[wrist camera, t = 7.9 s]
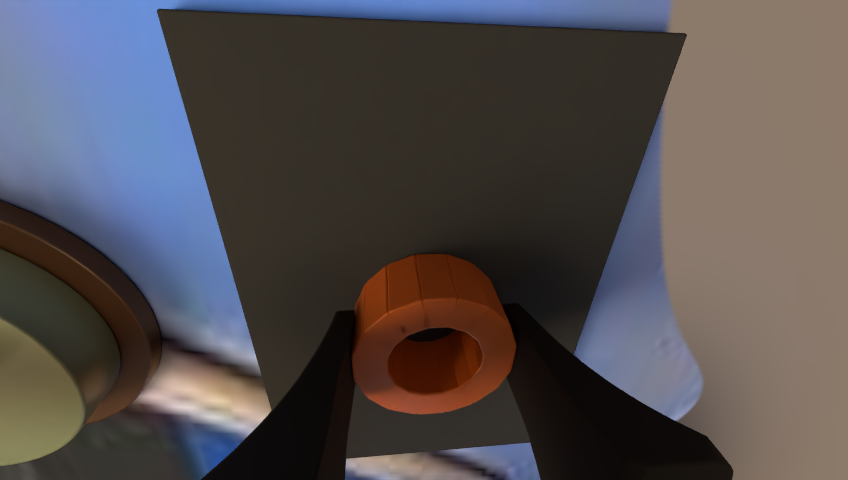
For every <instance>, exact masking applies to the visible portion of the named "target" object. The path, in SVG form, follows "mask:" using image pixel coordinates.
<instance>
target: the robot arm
mask: <svg viewBox="0 0 848 480" xmlns="http://www.w3.org/2000/svg"><path fill="white" fill-rule="evenodd" d="M503 310H504V312H505V314H506V316H507V319H508V321H509V323H510V325H511V328H512V331H513V334H514V337H515V340H516V343H517V350H516V354H515V358H514V362H513V366H512V368H511V372H510V373H509V374H508V375H507V377H506V378H507V381H508V383H509V386H510V388H511V391H512V393H513V396H514V398H515V401H516V403H517V406H518V408H519V411H520V413H521V416H522V418H523V421H524V424H525V427H526V430H527V432H528V436H529V439H530V443H531V446H532V450H533V453H534V457H535V460H536V464H537V468H538V471H539V475H540V479H541V480H732V477H733V469H732V467H731V465H730V464H729V463H728V462H727V461H726V459H725V458H724V457H723V456H722V454H721V453H720V452H719V451H718V450H717V448H716V447H715V446H714V444H713V443H712V442H711V441H710V440H709V439H708V437H707V436H705V435H703V434H701V433H699V432H697V431H695V430H693V429H691V428H688V427H687V426H684V425H683V424H680V423H678V422H676V421H674V420H672V419H670V418H668V417H667V416H665V415H663V414H661V413H659V412H657V411H656V410H654V409H652V408H650V407H648V406H647V405H645V404H643V403H642V402H640V401H638V400H636V399H635V398H633V397H632V396H630V395H628V394H627V393H625V392H624V391H622V390H621V389H619V388H617V387H616V386H614V385H613V384H611V383H610V382H608V381H607V380H606V379H604V378H603V377H601V376H600V375H599V374H597V373H596V372H595V371H593V370H592V369H590V368H589V367H588V366H587V365H585V364H584V363H583V362H581V361H580V360H579V359H578V358H577V357H575V356H574V355H573V354H572V353H571V352H569V351H568V350H567V349H566V348H565V347H564V346H563V345H561V344H560V343H559V342H558V341H557V340H556V339H555V338H554V337H553V336H552V335H550V334H549V333H548V332H547V331H546V330H545V329H544V328H543V327H542V326H541V325H540V324H539V323H538V322H537V321H536V320H535V319H534V318H533V317H532V316H531V315H530V314H529V313H528V312H527V311H526V310H525V309H524V308H523V307H522V306H521V305H520V304H519V303H510V304H503ZM354 322H355V310H345V311H337V312H336V313H335V315H334V317H333V319H332V322H331V324H330V326H329V328H328V330H327V332H326V334H325V336H324V337H323V339H322V341H321V343H320V344H319V346H318V348H317V350H316V351H315V353H314V355H313V356H312V358H311V359H310V361H309V362H308V364H307V365H306V367H305V368H304V370H303V371H302V373H301V374H300V376H299V377H298V379H297V380H296V381H295V383H294V384H293V385H292V387H291V388H290V389H289V391H288V392H287V393H286V394H285V396H284V397H283V398H282V399H281V401H280V402H279V403H278V404H277V405H276V406H275V408H274V409H273V410H272V411H271V412H270V413H269V415H268V416H267V417H266V418H265V419H264V420H263V421H262V422H261V423H260V424H259V426H258V427H257V428H256V429H255V430H254V431H253V432H252V433H251V434H250V435H249V436H248V437H247V438H246V439H245V440H244V441H243V442H242V443H241V444H240V445H239V446H238V447H237V448H236V449H235V450H234V451H232V452H231V453H230V454H229V455H228V456H227V457H226V458H225V459H224V460H223V461H221V462H220V463H219V464H218V465H217V466H216V467H215V468H213V469H212V470H211V471H210V472H209V473H208V474H207V475H206V476H204V477H203V478H202V479H201V480H345V465H346V448H347V439H348V431H349V424H350V417H351V411H352V404H353V397H354V390H355V384H356V383H355V381H354V379H353V375H352V364H351V350H352V343H353V334H354Z"/></svg>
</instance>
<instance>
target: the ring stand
mask: <svg viewBox="0 0 848 480" xmlns="http://www.w3.org/2000/svg"><path fill="white" fill-rule="evenodd" d="M160 356H161V337H160V331H159V327H158V325H157V322H156V319H155V316H154V314H153V312H152V310H151V309H150V307H149V305H148V303H147V301H146V300H145V299H144V297H143V296H142V295H141V293H140V292H139V290H138V289H137V288H136V286H135V285H134V284H133V283H132V282H131V281H130V280H129V279H128V278H127V277H126V276H125V275H124V274H123V273H122V271H121V270H119V269H118V268H117V267H116V266H115V265H114V264H112V263H111V262H110V261H109V260H108V259H107V258H105V257H104V256H103V255H102V254H100V253H99V252H98V251H96V250H95V249H93V248H92V247H91V246H89V245H88V244H86V243H85V242H84V241H82V240H80V239H79V238H77V237H75V236H74V235H72V234H70V233H69V232H67V231H65V230H64V229H62V228H60V227H58V226H56V225H54V224H52V223H50V222H48V221H46V220H44V219H42V218H40V217H38V216H36V215H34V214H32V213H29V212H27V211H24V210H22V209H19V208H17V207H15V206H12V205H10V204H7V203H4V202H1V201H0V466H3V465H11V464H17V463H22V462H27V461H30V460H33V459H37V458H40V457H43V456H45V455H48V454H50V453H52V452H54V451H56V450H58V449H59V448H61V447H63V446H64V445H66V444H67V443H68V442H69V441H71V440H72V439H73V438H74V437H75V436H76V435H77V433H78V432H79V431H80V429H81V428H82V427H83V425H86V424H90V423H93V422H96V421H100V420H102V419H104V418H107V417H109V416H112V415H114V414H115V413H117V412H119V411H121V410H122V409H124V408H126V407H127V406H128V405H129V404H131V403H132V402H133V401H134V400H135V399H136V398H137V397H138V396H139V395H140V394H141V392H142V391H143V390H144V389H145V387H146V386H147V384H148V383H149V381H150V380H151V378H152V376H153V375H154V373H155V371H156V369H157V367H158V363H159V360H160Z"/></svg>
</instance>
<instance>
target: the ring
mask: <svg viewBox="0 0 848 480" xmlns="http://www.w3.org/2000/svg"><path fill="white" fill-rule="evenodd" d="M445 327H449V328H452V329H456V330H455V331H453V332H452V333H451V334H449V335H448V336H446V337H443V338H440V339H437V340H434V341H425V342H416V341H412V340H408V339H405V338H406V337H407V336H409V335H411V334H414V333H417V332H419V331H422V330H425V329H428V328H445ZM516 350H517V343H516V340H515V337H514V334H513V331H512V328H511V325H510V323H509V321H508V319H507V316H506V314H505V312H504V310H503V307H502V305H501V303H500V301H499V298H498V296H497V294H496V292H495V289H494V287H493V285H492V283H491V280H490V279H489V278H488V277H487V276H486V275H485V274H484V273H483V272H482V271H481V270H480V269H478V268H477V267H476V266H475V265H474V264H473V263H471V262H469V261H466V260H463V259H460V258H457V257H454V256H451V255H448V254H446V255H445V254H417V255H416V256H415V255H412V256H409V257H406V258H404V259H401V260H398V261H395V262H393V263H390V264H388V265H387V266H385V267H383V268H382V269H381V270H380V271H379V272H378V273H377V274H375V275H374V276H373V277H372V278H371V279H370V280H368V281H367V283H366V284H365V285H364V287H363V289H362V292H361V294H360V296H359V298H358V300H357V303H356V306H355V322H354V334H353V343H352V350H351V364H352V375H353V379H354V381H355V383H356V384H357V385H358V386H359V388H360V389H361V390H362V392H363V393H364V394H365V396H366V397H368V399H370V400H372V401H374V402H376V403H377V404H379V405H381V406H383V407H385V408H387V409H391V410H394V411H400V412H405V413H411V414H417V413H418V414H419V415H420V414H433V413H444V412H445V411H446V412H449V411H453V410H456V409H459V408H462V407H465V406H468V405H471V404H472V402H473V403H475V402H477V401H478V400H480V399H481V398H483V397H485V396H486V395H488V394H489V393H491V392H492V391H494V390H495V388H498V387H499V385H500V384H501V383H502V382H503V380H504V379H505V378H506V377H507V375H508V374H509V373H510V372H511V368H512V366H513V362H514V358H515V354H516Z"/></svg>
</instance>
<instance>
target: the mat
mask: <svg viewBox="0 0 848 480" xmlns="http://www.w3.org/2000/svg"><path fill="white" fill-rule="evenodd" d="M157 13H158V17H159V20H160V24H161V27H162V30H163V34H164V37H165V41H166V44H167V48H168V51H169V55H170V58H171V62H172V65H173V69H174V72H175V76H176V79H177V83H178V86H179V90H180V93H181V96H182V100H183V103H184V107H185V110H186V114H187V117H188V121H189V124H190V128H191V131H192V135H193V138H194V142H195V145H196V149H197V152H198V156H199V159H200V162H201V166H202V169H203V173H204V176H205V180H206V183H207V187H208V190H209V194H210V197H211V201H212V204H213V208H214V211H215V215H216V218H217V222H218V225H219V228H220V232H221V235H222V239H223V242H224V246H225V249H226V253H227V256H228V260H229V263H230V267H231V270H232V274H233V277H234V281H235V284H236V287H237V291H238V294H239V298H240V301H241V305H242V308H243V312H244V315H245V319H246V322H247V326H248V329H249V333H250V336H251V340H252V343H253V347H254V350H255V353H256V357H257V360H258V364H259V367H260V371H261V374H262V378H263V381H264V385H265V388H266V392H267V395H268V399H269V402H270V406H271V409H272V410H273V409H274V408H275V406H276V405H277V404H278V403H279V402H280V401H281V399H282V398H283V397H284V396H285V394H286V393H287V392H288V391H289V389H290V388H291V387H292V385H293V384H294V383H295V381H296V380H297V379H298V377H299V376H300V374H301V373H302V371H303V370H304V368H305V367H306V365H307V364H308V362H309V361H310V359H311V358H312V356H313V355H314V353H315V351H316V350H317V348H318V346H319V344H320V343H321V341H322V339H323V337H324V336H325V334H326V332H327V330H328V328H329V326H330V324H331V322H332V319H333V317H334V315H335V313H336V312H337V311H345V310H355V306H356V303H357V300H358V298H359V296H360V294H361V292H362V289H363V287H364V285H365V284H366V283H367V281H368V280H370V279H371V278H372V277H373V276H374V275H375V274H377V273H378V272H379V271H380V270H381V269H382V268H383V267H385V266H387V265H388V264H390V263H393V262H395V261H398V260H401V259H404V258H406V257H409V256H412V255H415V256H416V255H417V254H445V255H446V254H448V255H451V256H454V257H457V258H460V259H463V260H466V261H469V262H471V263H473V264H474V265H475V266H476V267H477V268H478V269H480V270H481V271H482V272H483V273H484V274H485V275H486V276H487V277H488V278H489V279H490V280H491V283H492V285H493V287H494V289H495V292H496V294H497V296H498V298H499V301H500V303H501V305H502V307H503V304H510V303H519V304H520V305H521V306H522V307H523V308H524V309H525V310H526V311H527V312H528V313H529V314H530V315H531V316H532V317H533V318H534V319H535V320H536V321H537V322H538V323H539V324H540V325H541V326H542V327H543V328H544V329H545V330H546V331H547V332H548V333H549V334H550V335H552V336H553V337H554V338H555V339H556V340H557V341H558V342H559V343H560V344H561V345H563V346H564V347H565V348H566V349H567V350H568V351H569V352H571V353H572V354H574V351H575V348H576V346H577V343H578V340H579V337H580V334H581V332H582V329H583V326H584V323H585V320H586V317H587V315H588V312H589V309H590V306H591V303H592V301H593V298H594V295H595V292H596V289H597V287H598V284H599V281H600V278H601V275H602V272H603V270H604V267H605V264H606V261H607V258H608V256H609V253H610V250H611V247H612V244H613V241H614V239H615V236H616V233H617V230H618V227H619V225H620V222H621V219H622V216H623V213H624V211H625V208H626V205H627V202H628V199H629V196H630V194H631V191H632V188H633V185H634V182H635V180H636V177H637V174H638V171H639V168H640V165H641V163H642V160H643V157H644V154H645V151H646V149H647V146H648V143H649V140H650V137H651V135H652V132H653V129H654V126H655V123H656V120H657V118H658V115H659V112H660V109H661V106H662V104H663V101H664V98H665V95H666V92H667V90H668V87H669V84H670V81H671V78H672V75H673V73H674V69H675V67H676V64H677V61H678V58H679V56H680V53H681V50H682V47H683V44H684V41H685V39H686V36H687V35H686V34H685V33H666V32H645V31H623V30H602V29H580V28H559V27H538V26H516V25H495V24H473V23H452V22H431V21H409V20H388V19H367V18H345V17H324V16H302V15H281V14H260V13H238V12H217V11H195V10H174V9H158V10H157ZM455 330H456V329H452V328H449V327H445V328H428V329H425V330H422V331H419V332H417V333H414V334H411V335H409V336H407V337H406V338H405V339H408V340H412V341H416V342H425V341H434V340H437V339H440V338H443V337H446V336H448V335H449V334H451V333H452V332H453V331H455ZM528 442H530V439H529V436H528V432H527V430H526V427H525V424H524V421H523V418H522V416H521V413H520V411H519V408H518V406H517V403H516V401H515V398H514V396H513V393H512V391H511V388H510V386H509V383H508V381H507V378H505V379H504V380H503V382H502V383H501V384H500V385H499V387H498V388H495V390H494V391H492V392H491V393H489V394H488V395H486V396H485V397H483V398H481V399H480V400H478V401H477V402H475V403H473V402H472V404H471V405H468V406H465V407H462V408H459V409H456V410H453V411H449V412H446V411H445V412H444V413H433V414H420V415H419V414H418V413H417V414H411V413H405V412H400V411H394V410H391V409H387V408H385V407H383V406H381V405H379V404H377V403H376V402H374V401H372V400H370V399H368V397H366V396H365V394H364V393H363V392H362V390H361V389H360V388H359V386H358V385H357V384H355V390H354V397H353V404H352V411H351V417H350V424H349V431H348V439H347V448H346V459H347V458H358V457H369V456H381V455H392V454H403V453H415V452H426V451H437V450H449V449H460V448H471V447H483V446H494V445H505V444H517V443H528Z"/></svg>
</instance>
